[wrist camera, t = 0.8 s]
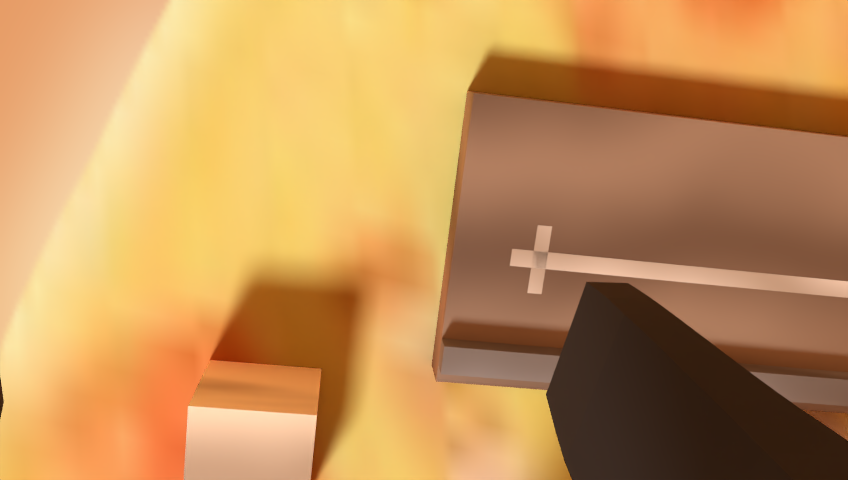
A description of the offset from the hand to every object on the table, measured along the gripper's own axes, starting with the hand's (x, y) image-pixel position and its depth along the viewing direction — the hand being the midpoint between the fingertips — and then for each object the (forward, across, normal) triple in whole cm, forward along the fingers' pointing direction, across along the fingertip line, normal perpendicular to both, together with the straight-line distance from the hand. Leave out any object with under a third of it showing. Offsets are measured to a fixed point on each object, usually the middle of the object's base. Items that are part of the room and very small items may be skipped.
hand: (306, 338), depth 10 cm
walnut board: (+13, -20, +8) cm, 25 cm away
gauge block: (+14, -1, +16) cm, 21 cm away
